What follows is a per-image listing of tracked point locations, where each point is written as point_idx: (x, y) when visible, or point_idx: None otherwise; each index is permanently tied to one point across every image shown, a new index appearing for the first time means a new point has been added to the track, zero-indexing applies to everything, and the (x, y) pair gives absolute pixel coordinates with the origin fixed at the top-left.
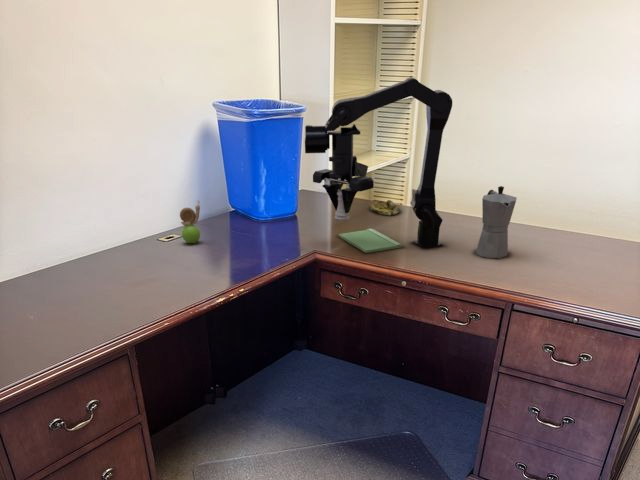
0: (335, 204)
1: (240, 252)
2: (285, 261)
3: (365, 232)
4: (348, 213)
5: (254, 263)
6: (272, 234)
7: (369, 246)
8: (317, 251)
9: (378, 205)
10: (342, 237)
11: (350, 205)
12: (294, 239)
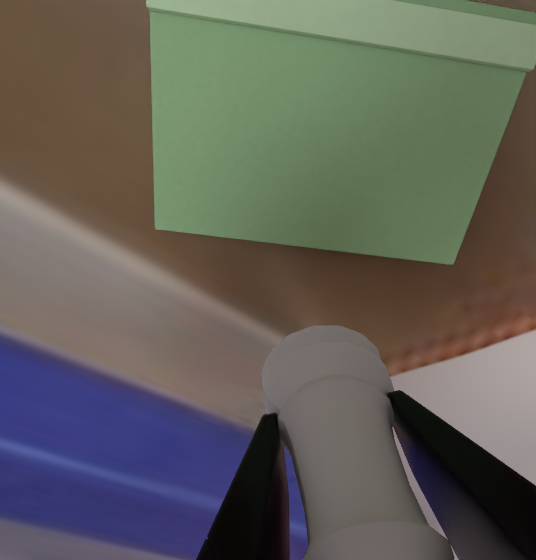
0: (288, 513)
1: (176, 541)
2: None
3: (196, 63)
4: (391, 383)
5: None
6: (18, 425)
7: (424, 216)
8: None
9: None
10: (202, 233)
11: (470, 451)
12: (115, 393)
